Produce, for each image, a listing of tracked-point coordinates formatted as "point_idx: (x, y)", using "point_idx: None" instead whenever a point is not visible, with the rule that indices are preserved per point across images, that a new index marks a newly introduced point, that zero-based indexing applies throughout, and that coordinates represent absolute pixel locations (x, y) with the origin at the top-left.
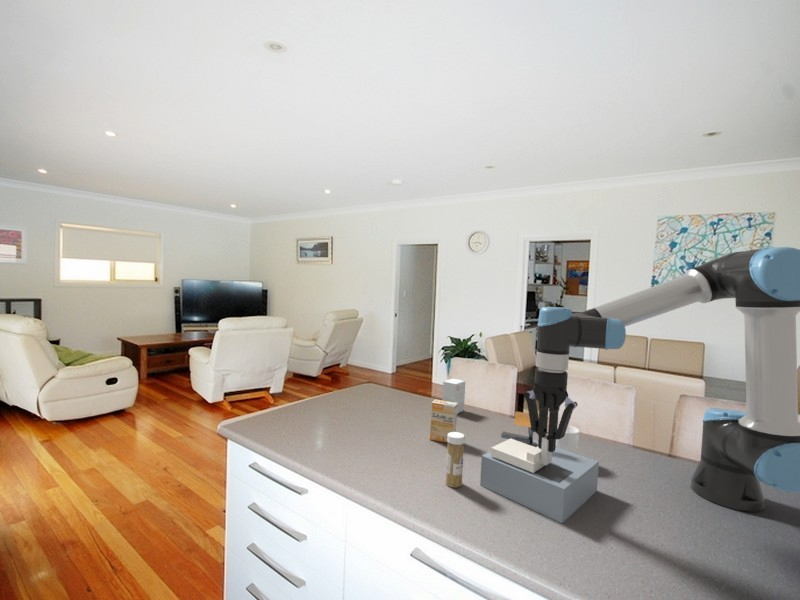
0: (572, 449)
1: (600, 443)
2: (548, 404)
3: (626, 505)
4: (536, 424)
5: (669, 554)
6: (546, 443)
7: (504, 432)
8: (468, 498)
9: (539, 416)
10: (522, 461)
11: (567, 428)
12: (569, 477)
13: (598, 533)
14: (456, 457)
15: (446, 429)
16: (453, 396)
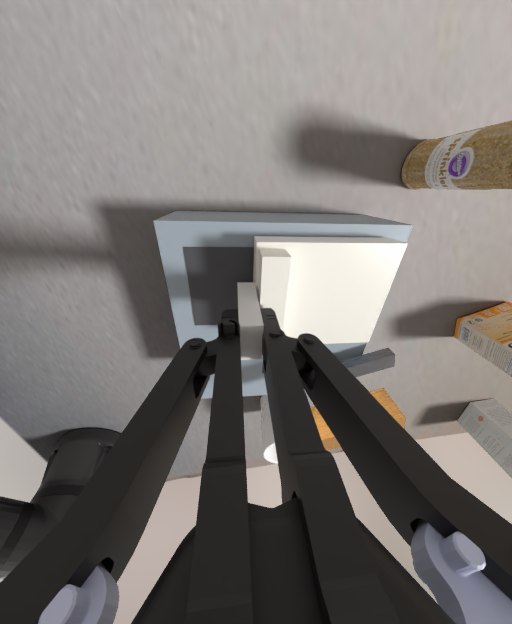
0: (264, 416)
1: (258, 457)
2: (265, 537)
3: (150, 351)
4: (311, 375)
5: (22, 270)
6: (242, 316)
7: (389, 364)
8: (369, 129)
9: (305, 400)
10: (294, 240)
11: None
12: (185, 295)
13: (120, 236)
14: (495, 131)
15: (501, 329)
16: (510, 433)
